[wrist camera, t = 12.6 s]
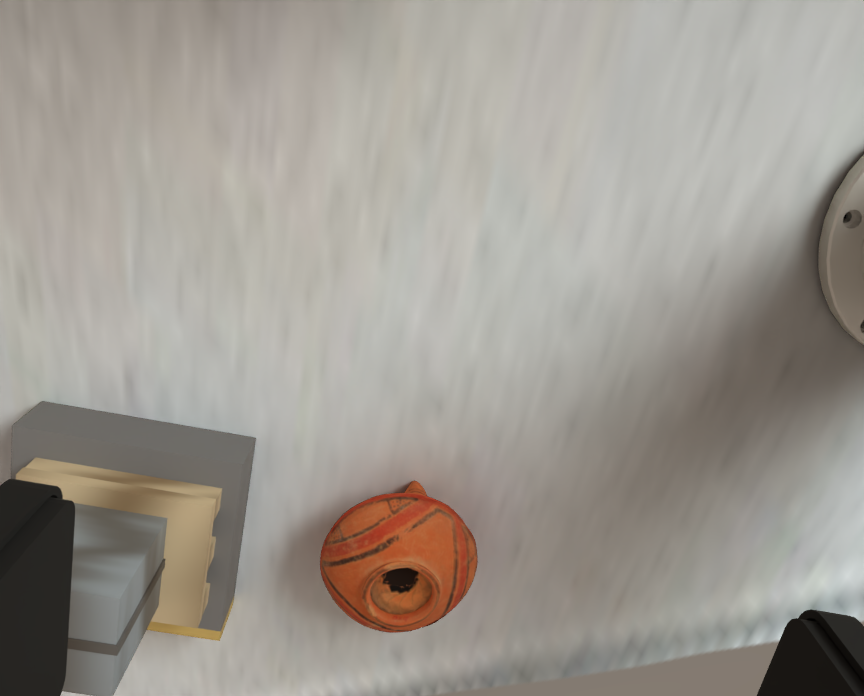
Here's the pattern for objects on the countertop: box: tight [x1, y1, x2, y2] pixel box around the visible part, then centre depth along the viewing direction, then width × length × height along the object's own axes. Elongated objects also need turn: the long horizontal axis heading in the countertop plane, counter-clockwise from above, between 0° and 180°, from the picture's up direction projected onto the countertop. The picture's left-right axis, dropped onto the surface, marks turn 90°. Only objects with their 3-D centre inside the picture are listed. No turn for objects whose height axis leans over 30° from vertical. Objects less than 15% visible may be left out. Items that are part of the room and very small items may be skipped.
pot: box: [320, 481, 477, 632], centre depth 39 cm, size 8×8×7 cm
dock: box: [11, 401, 256, 641], centre depth 40 cm, size 11×11×3 cm
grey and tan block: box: [16, 458, 222, 696], centre depth 34 cm, size 9×7×8 cm
